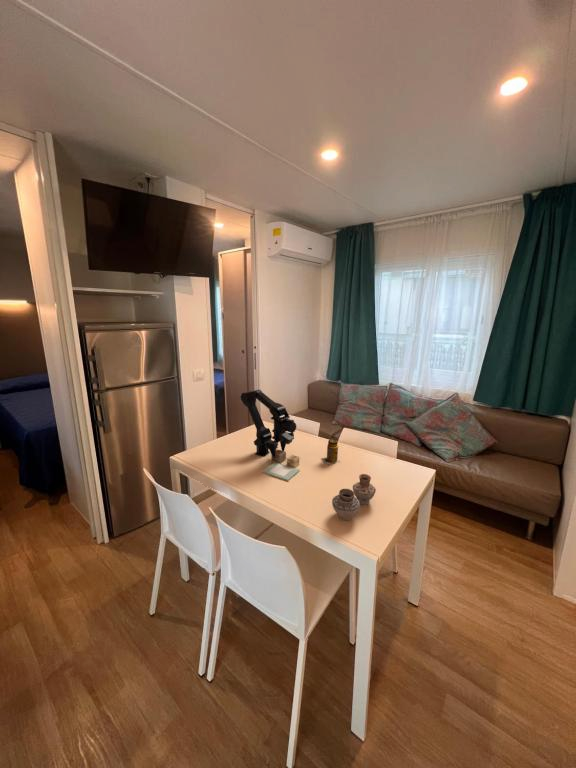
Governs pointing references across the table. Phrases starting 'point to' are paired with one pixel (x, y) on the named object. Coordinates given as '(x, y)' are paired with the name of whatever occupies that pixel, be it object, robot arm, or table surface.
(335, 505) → the pottery
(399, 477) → the table surface
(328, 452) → the condiment
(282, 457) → the walnut block
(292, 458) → the oak cube
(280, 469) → the base board
